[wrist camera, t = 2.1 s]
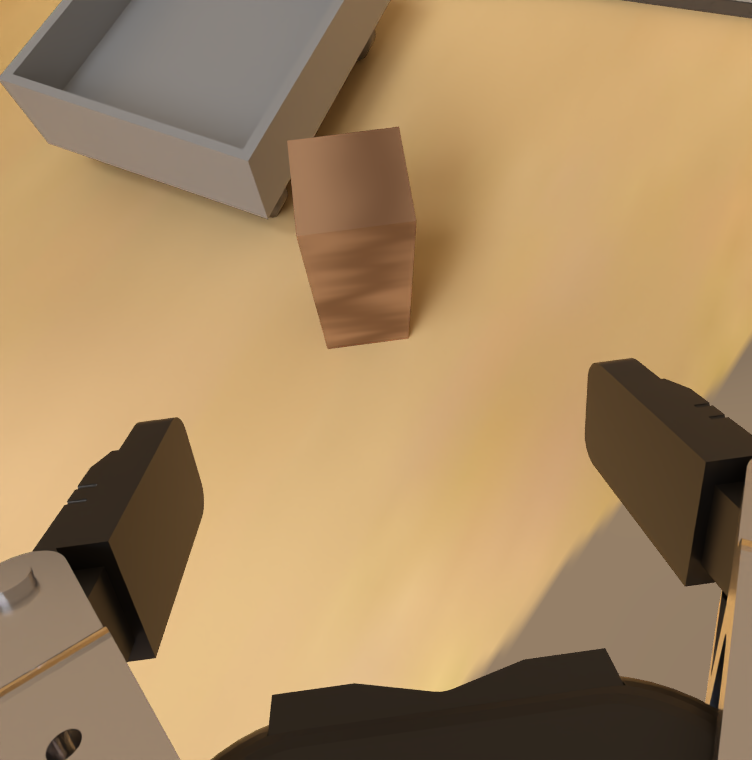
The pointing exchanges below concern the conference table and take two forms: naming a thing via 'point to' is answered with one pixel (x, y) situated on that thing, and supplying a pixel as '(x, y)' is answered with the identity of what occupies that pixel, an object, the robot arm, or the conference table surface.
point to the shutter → (708, 6)
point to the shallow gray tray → (192, 86)
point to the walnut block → (355, 233)
